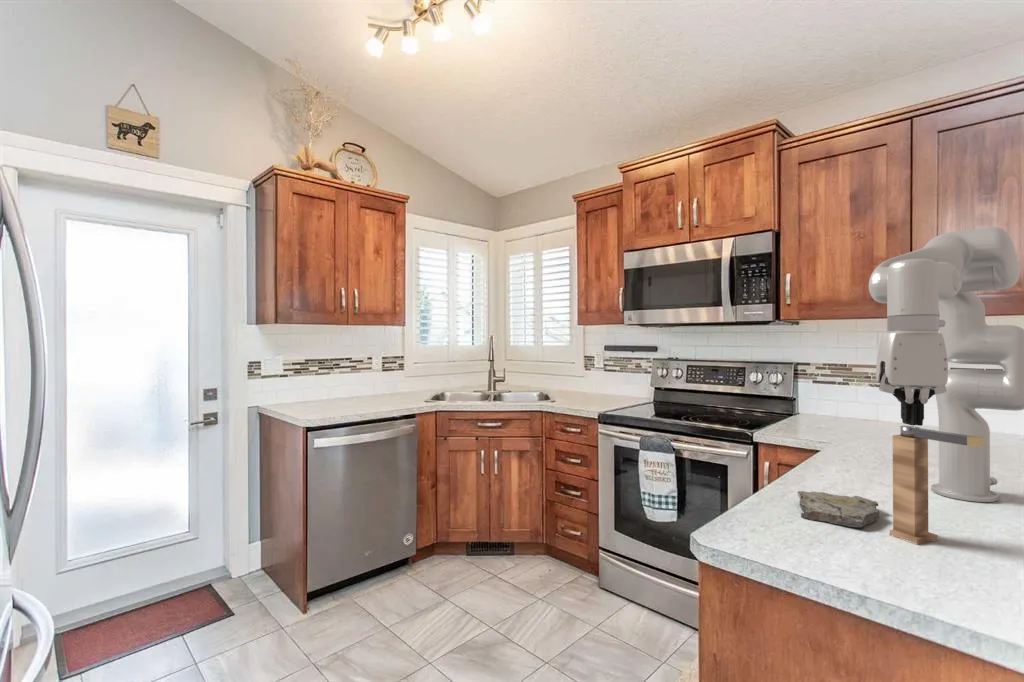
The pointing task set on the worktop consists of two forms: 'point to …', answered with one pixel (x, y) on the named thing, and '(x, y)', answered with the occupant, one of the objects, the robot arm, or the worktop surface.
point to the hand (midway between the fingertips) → (912, 424)
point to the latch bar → (942, 436)
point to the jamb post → (910, 489)
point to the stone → (838, 508)
